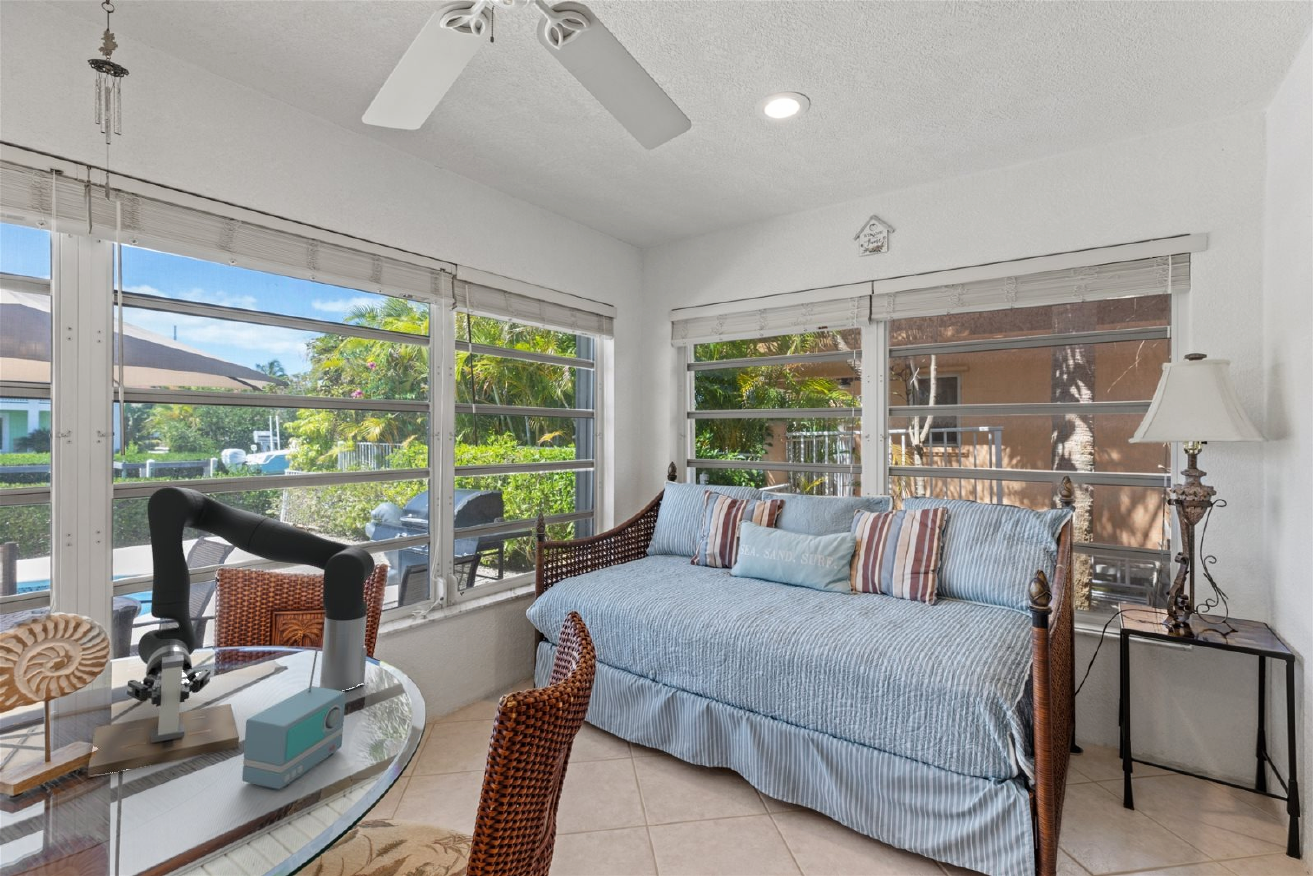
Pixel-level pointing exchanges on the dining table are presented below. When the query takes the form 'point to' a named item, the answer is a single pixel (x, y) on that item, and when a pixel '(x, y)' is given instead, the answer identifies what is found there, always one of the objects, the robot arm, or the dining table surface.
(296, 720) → the radio
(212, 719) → the brown wooden board
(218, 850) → the dining table surface
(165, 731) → the fader
